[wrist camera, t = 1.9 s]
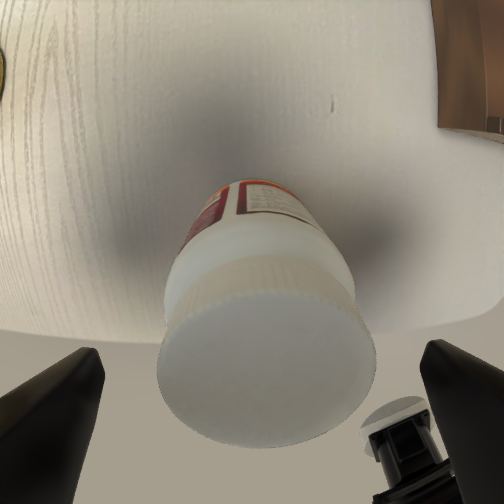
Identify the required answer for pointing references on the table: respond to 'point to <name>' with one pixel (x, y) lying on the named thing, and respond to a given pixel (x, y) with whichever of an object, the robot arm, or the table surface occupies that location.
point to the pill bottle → (262, 324)
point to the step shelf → (470, 66)
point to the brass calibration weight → (1, 71)
